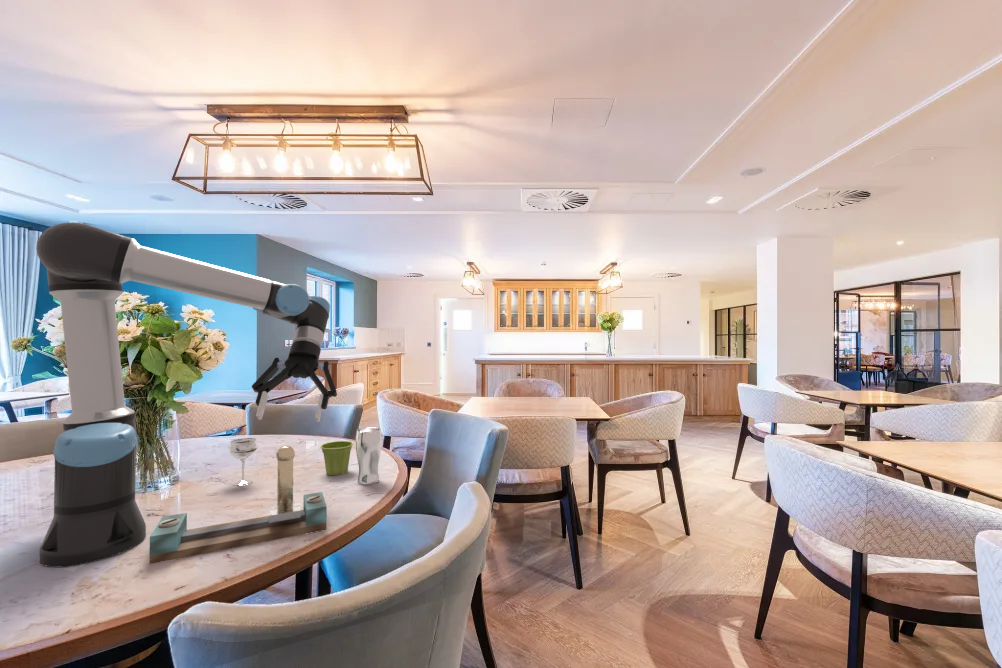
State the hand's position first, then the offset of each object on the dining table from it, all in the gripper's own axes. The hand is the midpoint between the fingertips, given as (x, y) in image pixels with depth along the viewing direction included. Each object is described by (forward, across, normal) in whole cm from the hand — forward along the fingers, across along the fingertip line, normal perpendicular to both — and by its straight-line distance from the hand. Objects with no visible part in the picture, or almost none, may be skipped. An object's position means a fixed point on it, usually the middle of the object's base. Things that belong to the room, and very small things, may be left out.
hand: (288, 419), depth 106 cm
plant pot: (+5, -9, -32) cm, 33 cm away
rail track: (+27, +2, +3) cm, 27 cm away
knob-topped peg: (+23, -5, +3) cm, 24 cm away
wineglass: (+9, +16, -29) cm, 34 cm away
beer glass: (+10, -20, -22) cm, 31 cm away
